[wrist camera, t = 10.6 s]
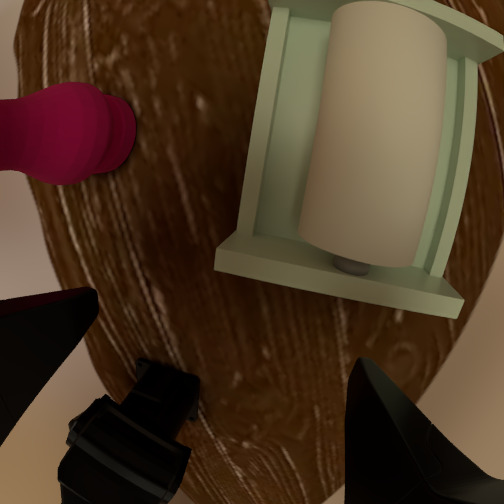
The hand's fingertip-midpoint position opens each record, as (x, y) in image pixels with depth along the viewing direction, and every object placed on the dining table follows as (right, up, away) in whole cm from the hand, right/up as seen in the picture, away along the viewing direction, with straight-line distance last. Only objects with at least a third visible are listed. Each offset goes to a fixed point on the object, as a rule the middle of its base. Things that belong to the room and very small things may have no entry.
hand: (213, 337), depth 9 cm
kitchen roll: (+8, +9, +4) cm, 12 cm away
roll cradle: (+8, +10, +8) cm, 15 cm away
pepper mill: (-10, +12, +11) cm, 20 cm away
